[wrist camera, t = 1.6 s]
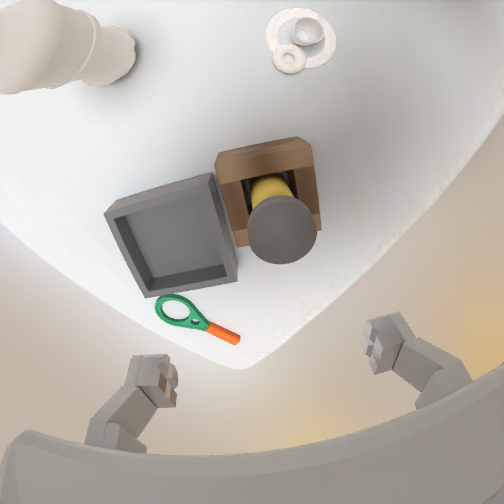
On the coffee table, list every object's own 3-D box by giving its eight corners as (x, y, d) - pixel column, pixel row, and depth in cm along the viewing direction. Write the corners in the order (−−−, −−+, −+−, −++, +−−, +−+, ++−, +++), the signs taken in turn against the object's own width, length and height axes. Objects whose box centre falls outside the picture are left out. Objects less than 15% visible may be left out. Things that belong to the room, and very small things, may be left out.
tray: (211, 172, 31) (207, 182, 28) (237, 263, 38) (237, 281, 35) (115, 200, 32) (103, 213, 29) (151, 280, 39) (145, 298, 36)
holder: (297, 136, 29) (310, 145, 24) (309, 208, 34) (321, 230, 29) (218, 152, 30) (214, 165, 25) (237, 223, 35) (237, 247, 30)
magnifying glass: (150, 308, 42) (148, 315, 41) (166, 285, 40) (163, 292, 39) (227, 345, 48) (227, 352, 46) (247, 326, 45) (248, 334, 44)
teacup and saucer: (286, 84, 26) (293, 82, 23) (244, 31, 23) (245, 22, 19) (347, 52, 24) (361, 47, 21) (308, -1, 20) (318, -12, 17)
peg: (283, 155, 31) (313, 196, 19) (291, 196, 33) (319, 256, 22) (239, 165, 31) (240, 211, 19) (249, 205, 34) (255, 270, 22)
